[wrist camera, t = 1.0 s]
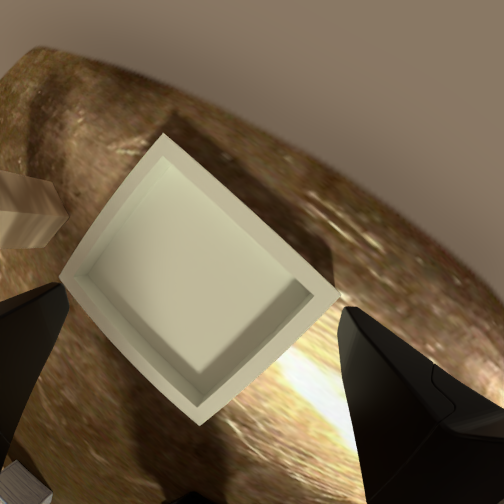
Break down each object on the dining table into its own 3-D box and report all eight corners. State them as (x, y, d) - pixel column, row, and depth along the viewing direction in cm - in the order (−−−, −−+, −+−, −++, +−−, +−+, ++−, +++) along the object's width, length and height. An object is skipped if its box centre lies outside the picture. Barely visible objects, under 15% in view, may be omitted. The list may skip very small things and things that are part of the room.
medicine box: (16, 470, 29) (-13, 492, 20) (16, 458, 28) (-16, 481, 20) (52, 501, 28) (24, 528, 19) (54, 492, 27) (23, 520, 19)
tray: (209, 407, 23) (199, 426, 20) (79, 273, 24) (58, 277, 21) (335, 287, 22) (341, 294, 19) (178, 145, 23) (163, 132, 20)
